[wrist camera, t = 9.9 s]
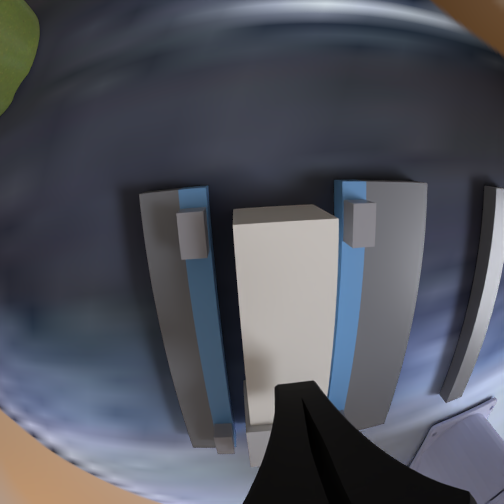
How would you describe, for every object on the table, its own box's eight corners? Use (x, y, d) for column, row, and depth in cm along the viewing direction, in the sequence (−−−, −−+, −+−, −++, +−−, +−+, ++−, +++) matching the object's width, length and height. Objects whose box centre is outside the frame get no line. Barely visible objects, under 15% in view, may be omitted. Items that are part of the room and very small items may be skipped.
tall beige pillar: (309, 415, 15) (323, 462, 12) (247, 422, 15) (251, 471, 12) (317, 204, 12) (349, 221, 9) (228, 209, 12) (225, 228, 8)
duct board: (454, 388, 16) (468, 405, 14) (194, 435, 15) (191, 460, 13) (499, 187, 12) (524, 192, 10) (146, 191, 11) (130, 197, 9)
